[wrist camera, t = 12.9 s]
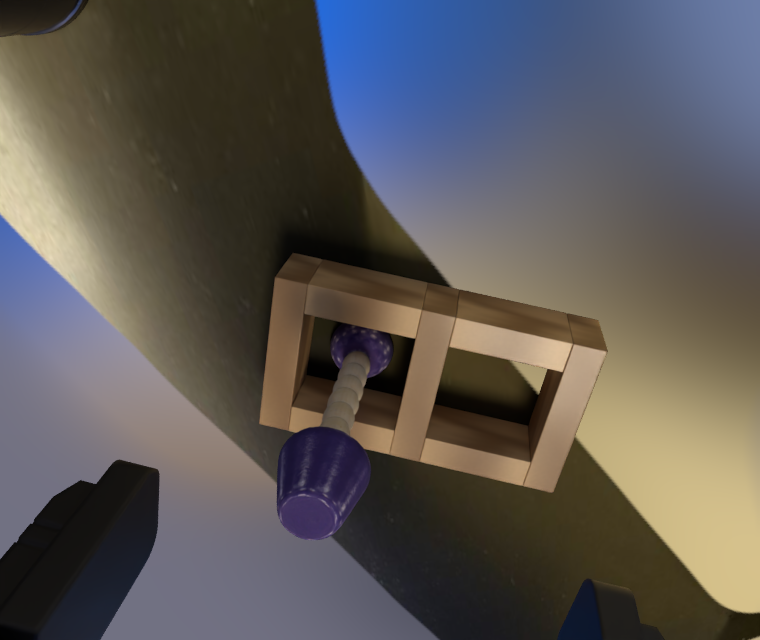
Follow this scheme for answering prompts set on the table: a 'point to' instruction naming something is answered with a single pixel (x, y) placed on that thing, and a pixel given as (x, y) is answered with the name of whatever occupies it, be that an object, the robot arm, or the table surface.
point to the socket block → (432, 369)
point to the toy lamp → (331, 443)
